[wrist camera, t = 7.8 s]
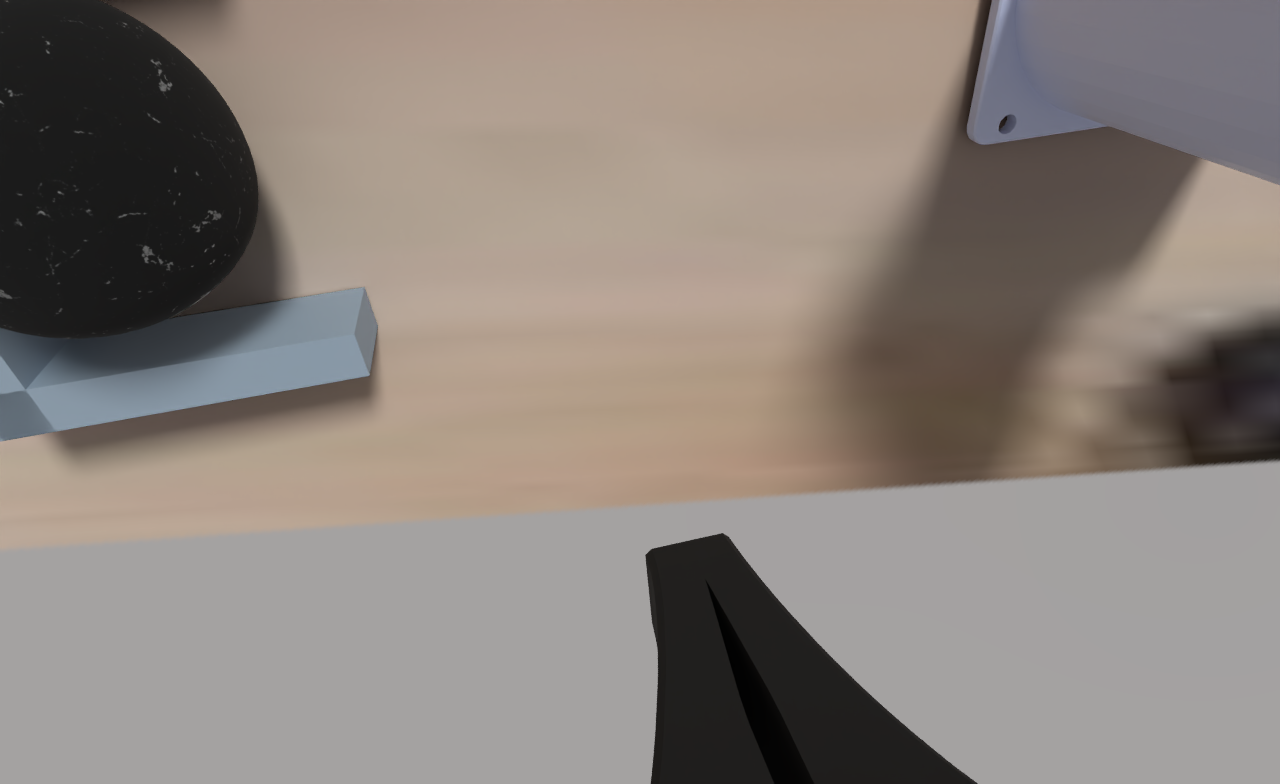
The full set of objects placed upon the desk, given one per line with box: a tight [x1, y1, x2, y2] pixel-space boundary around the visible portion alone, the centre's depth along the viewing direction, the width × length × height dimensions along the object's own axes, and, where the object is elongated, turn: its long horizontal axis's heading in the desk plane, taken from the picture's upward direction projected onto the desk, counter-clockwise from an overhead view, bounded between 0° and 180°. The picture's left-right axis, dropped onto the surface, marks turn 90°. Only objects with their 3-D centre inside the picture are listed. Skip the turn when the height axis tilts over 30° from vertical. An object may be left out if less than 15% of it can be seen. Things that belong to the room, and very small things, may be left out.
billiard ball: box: [0, 0, 258, 339], centre depth 13 cm, size 6×6×6 cm
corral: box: [0, 287, 378, 441], centre depth 14 cm, size 8×11×2 cm
